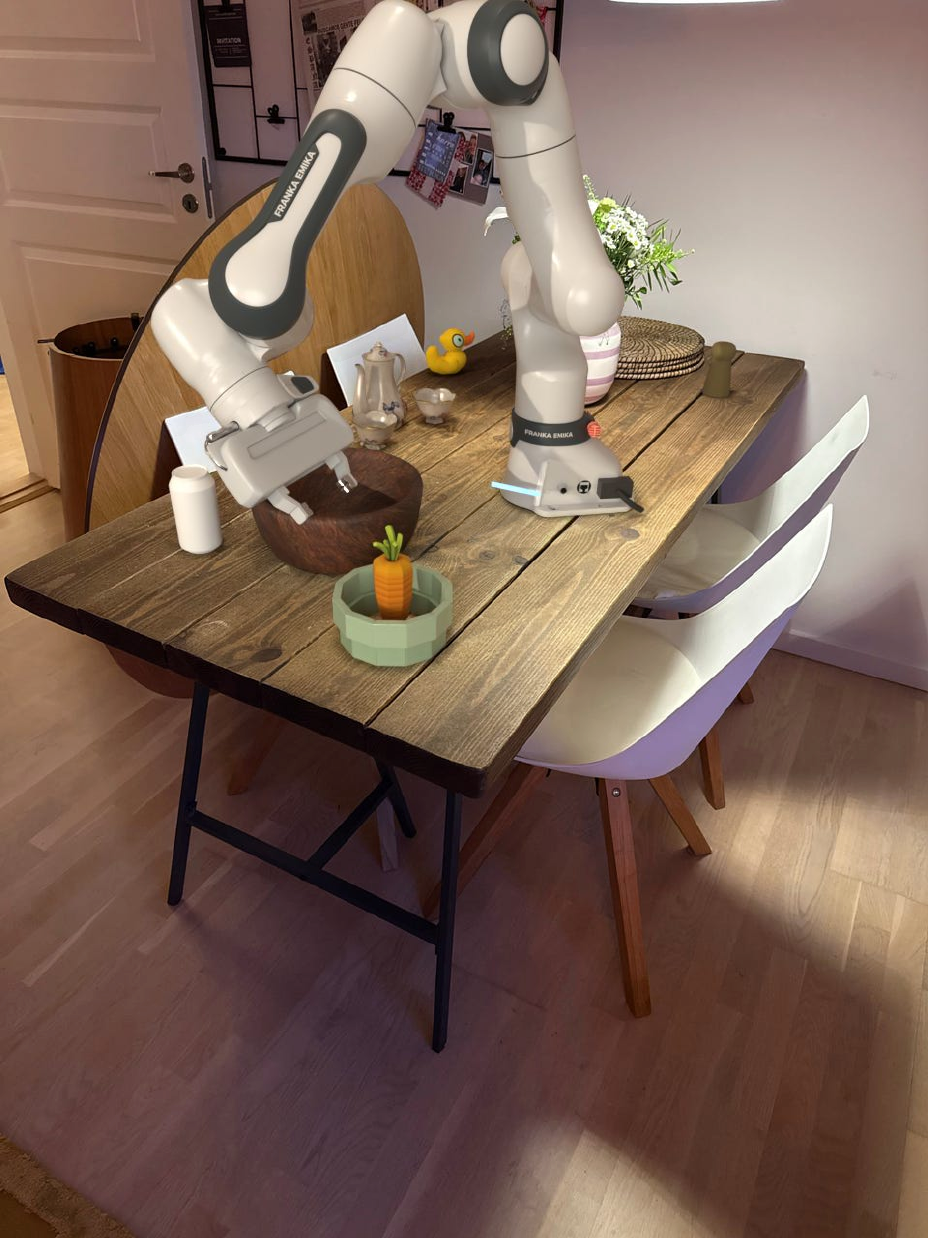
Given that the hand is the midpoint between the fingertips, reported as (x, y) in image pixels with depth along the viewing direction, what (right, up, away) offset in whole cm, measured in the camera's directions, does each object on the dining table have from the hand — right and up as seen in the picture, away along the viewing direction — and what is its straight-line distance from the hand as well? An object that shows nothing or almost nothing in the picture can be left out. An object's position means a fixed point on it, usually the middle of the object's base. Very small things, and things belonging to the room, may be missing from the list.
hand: (330, 504), depth 105 cm
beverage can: (-22, -3, +23) cm, 33 cm away
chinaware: (+2, +23, +64) cm, 68 cm away
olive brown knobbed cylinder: (+72, +36, +87) cm, 119 cm away
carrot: (+7, -16, +6) cm, 19 cm away
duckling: (+13, +42, +93) cm, 103 cm away
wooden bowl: (-3, -3, +26) cm, 26 cm away
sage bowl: (+7, -16, +6) cm, 18 cm away
